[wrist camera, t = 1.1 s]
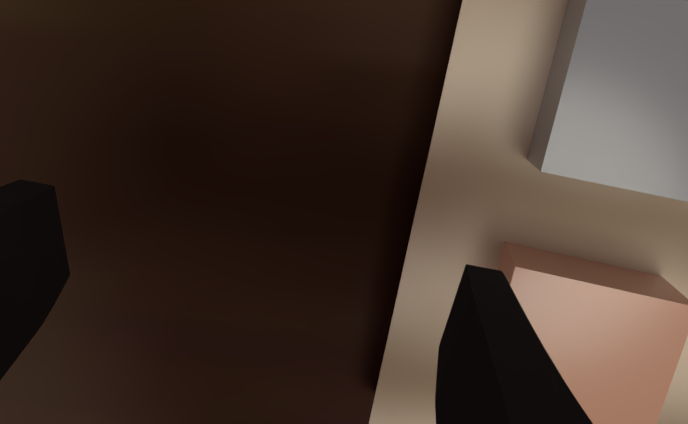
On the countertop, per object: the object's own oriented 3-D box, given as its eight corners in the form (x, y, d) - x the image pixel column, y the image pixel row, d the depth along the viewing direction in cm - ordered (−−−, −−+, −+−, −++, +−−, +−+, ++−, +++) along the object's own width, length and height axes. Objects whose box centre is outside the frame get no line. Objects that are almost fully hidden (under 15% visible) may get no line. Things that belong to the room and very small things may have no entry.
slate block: (688, 192, 17) (731, 210, 14) (526, 159, 17) (540, 171, 15) (743, 25, 16) (800, 15, 13) (569, -4, 16) (592, -20, 14)
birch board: (652, 463, 21) (680, 512, 19) (375, 393, 22) (367, 430, 20) (821, -11, 17) (883, -27, 15) (476, -67, 18) (482, -90, 16)
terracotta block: (616, 413, 18) (643, 463, 16) (469, 377, 19) (473, 420, 16) (661, 275, 17) (697, 307, 15) (505, 242, 18) (515, 266, 15)
